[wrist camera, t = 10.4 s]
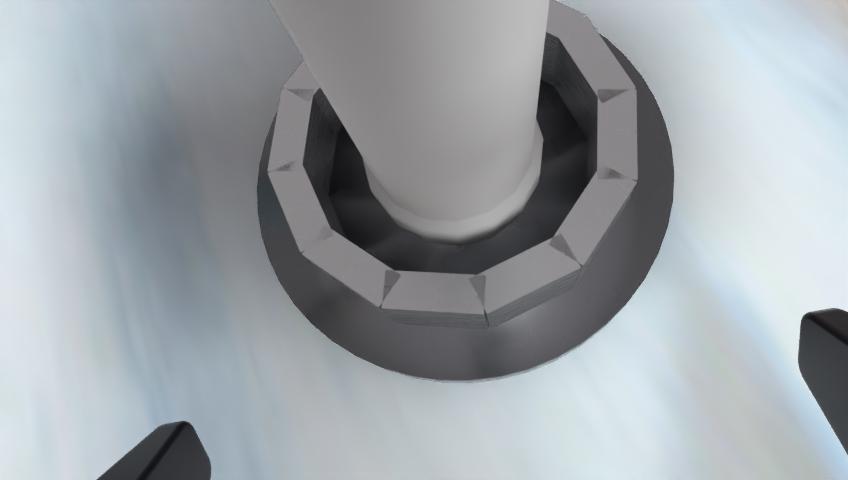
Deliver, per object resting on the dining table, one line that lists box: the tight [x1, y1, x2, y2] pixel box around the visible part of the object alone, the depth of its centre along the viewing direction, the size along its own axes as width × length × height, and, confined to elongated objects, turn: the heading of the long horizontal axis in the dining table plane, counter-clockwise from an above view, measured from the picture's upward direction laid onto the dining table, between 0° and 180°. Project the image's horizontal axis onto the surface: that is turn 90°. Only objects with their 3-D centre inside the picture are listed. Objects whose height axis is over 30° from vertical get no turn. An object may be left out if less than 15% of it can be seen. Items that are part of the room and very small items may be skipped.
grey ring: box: [257, 0, 674, 383], centre depth 18 cm, size 13×13×4 cm
